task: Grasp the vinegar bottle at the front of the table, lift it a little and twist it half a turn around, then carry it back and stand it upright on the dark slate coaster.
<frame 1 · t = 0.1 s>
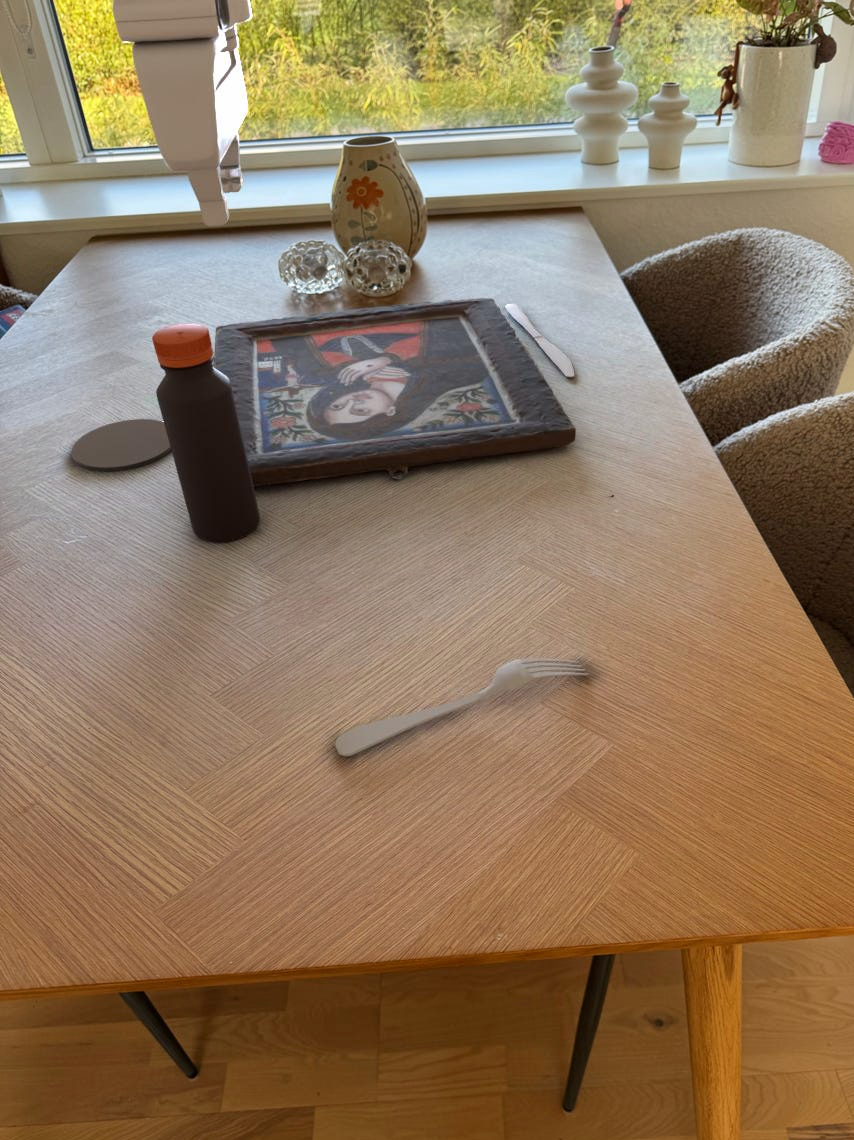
hand: (225, 206, 75), 31 cm above the table, tool pointing down, fingers open, 8 cm apart
butter knife: (540, 341, 131), on the table
fork: (465, 710, 75), on the table
vinegar: (227, 527, 97), on the table
religious icon: (375, 395, 120), on the table
coaster: (126, 446, 112), on the table
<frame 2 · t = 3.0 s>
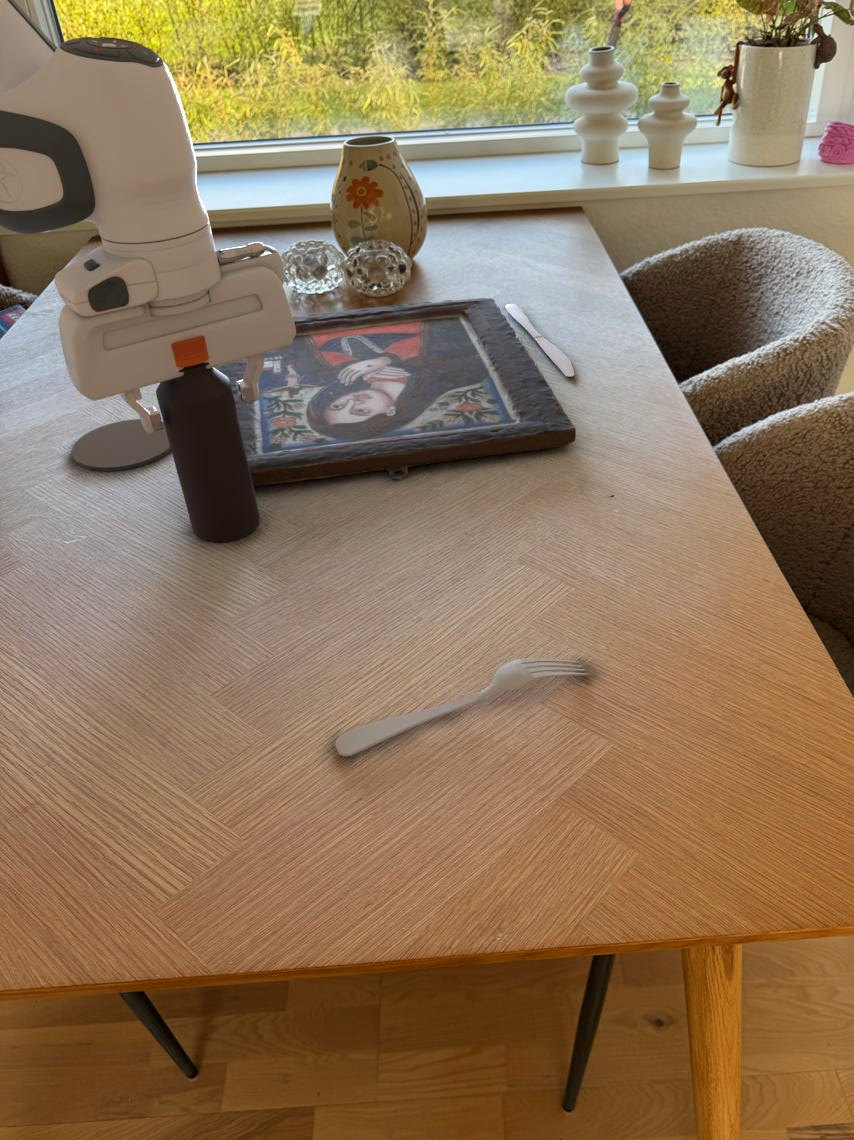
hand: (202, 414, 89), 12 cm above the table, tool pointing down, fingers open, 8 cm apart
nothing on the table moved.
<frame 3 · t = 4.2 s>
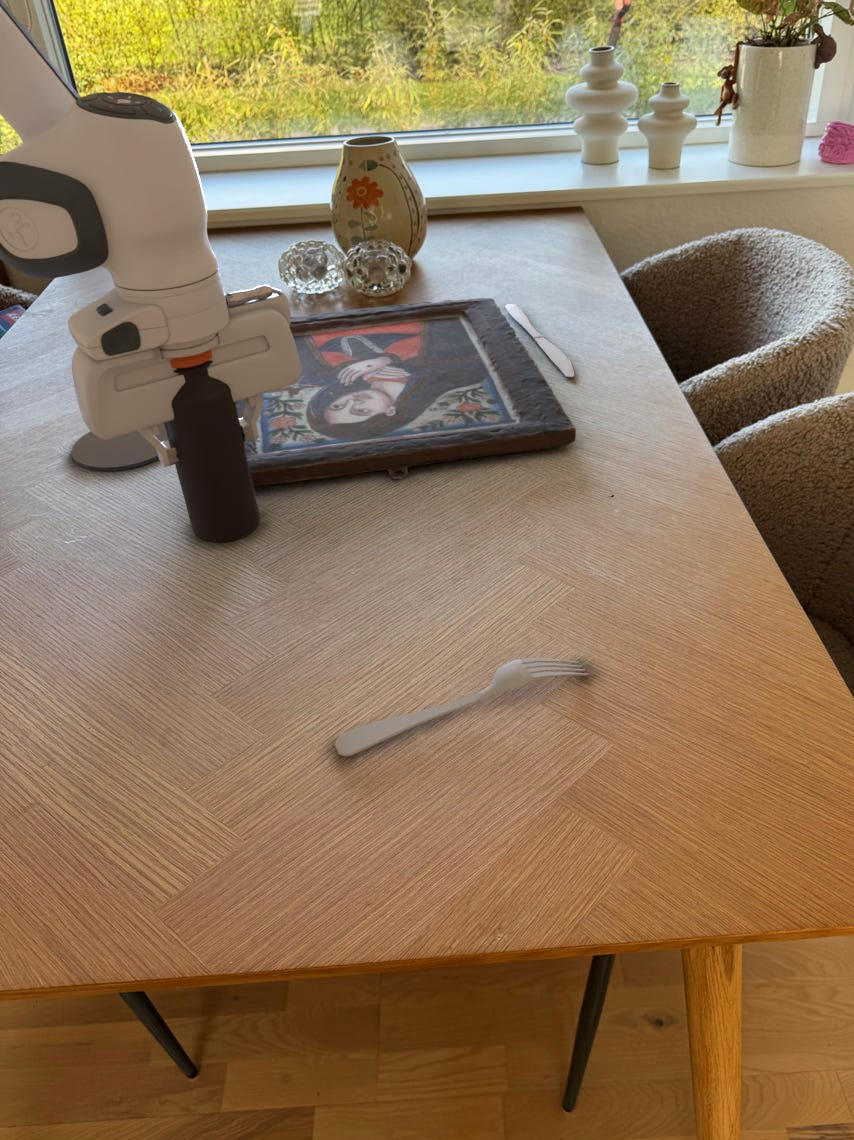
hand: (210, 450, 92), 9 cm above the table, tool pointing down, fingers closed on vinegar, 7 cm apart
vinegar: (227, 527, 97), on the table, touching arm, gripper
everything else where it was.
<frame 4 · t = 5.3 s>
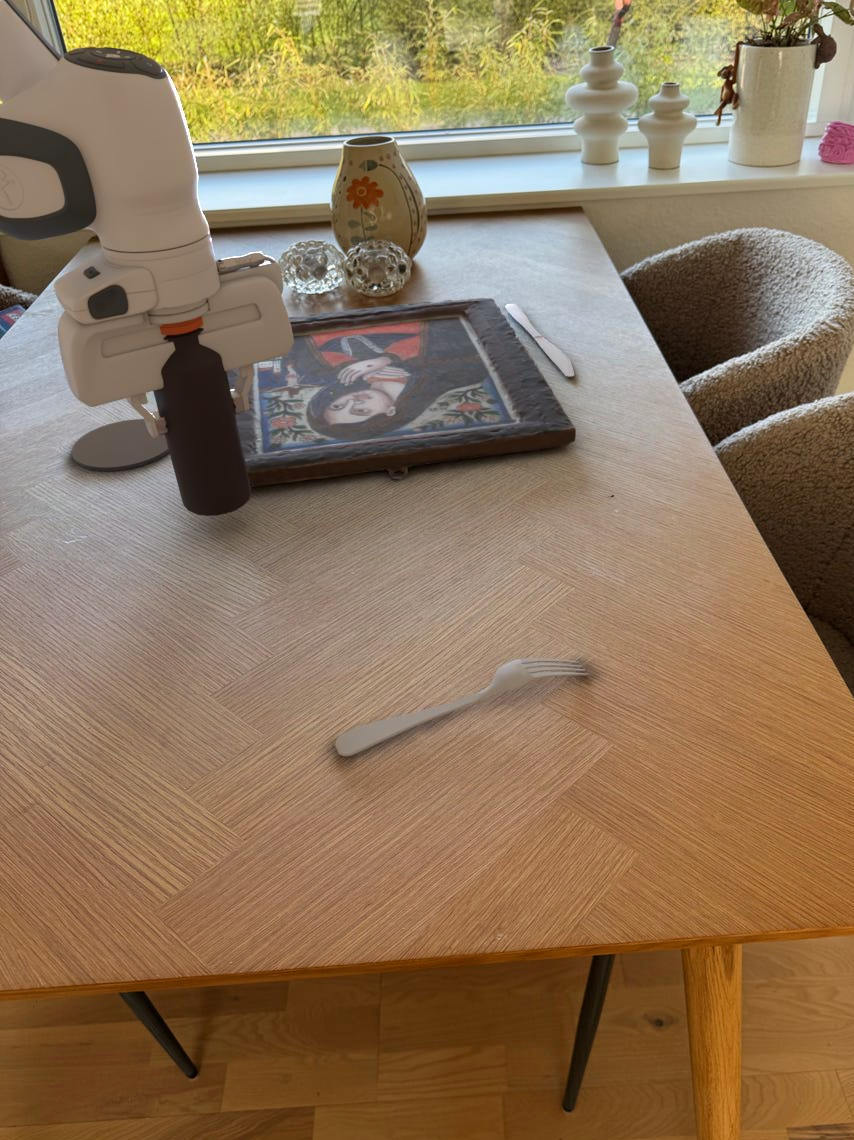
hand: (199, 421, 90), 12 cm above the table, tool pointing down, fingers closed on vinegar, 6 cm apart
vinegar: (218, 501, 95), point 3 cm above the table, touching arm, gripper
everything else where it was.
when the fingers open (9 cm above the table, at t = 14.8 s): vinegar stays where it is, resting on coaster.
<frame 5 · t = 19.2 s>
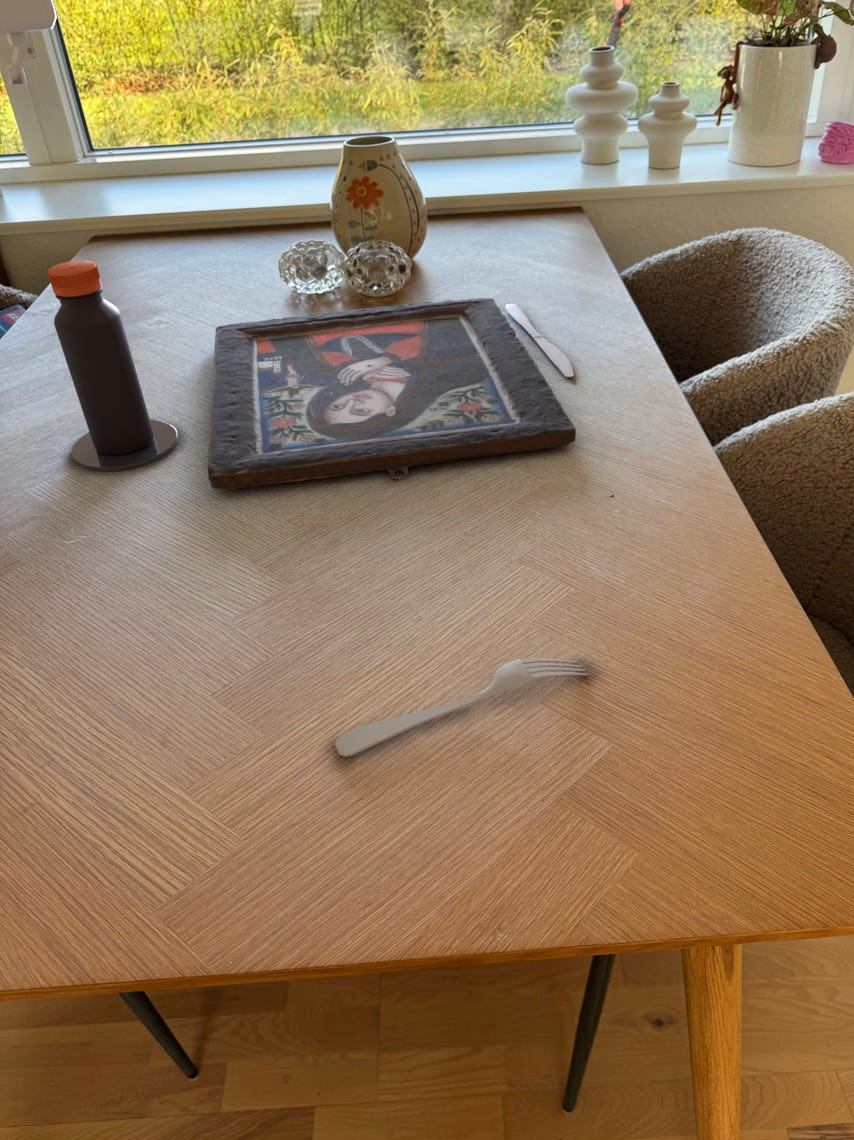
vinegar: (125, 444, 111), resting on coaster
everything else where it was.
at the end: vinegar 0.3 cm off-centre on the coaster, point 0.3 cm above the coaster's base; vinegar tilted 0°; the gripper is holding nothing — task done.
